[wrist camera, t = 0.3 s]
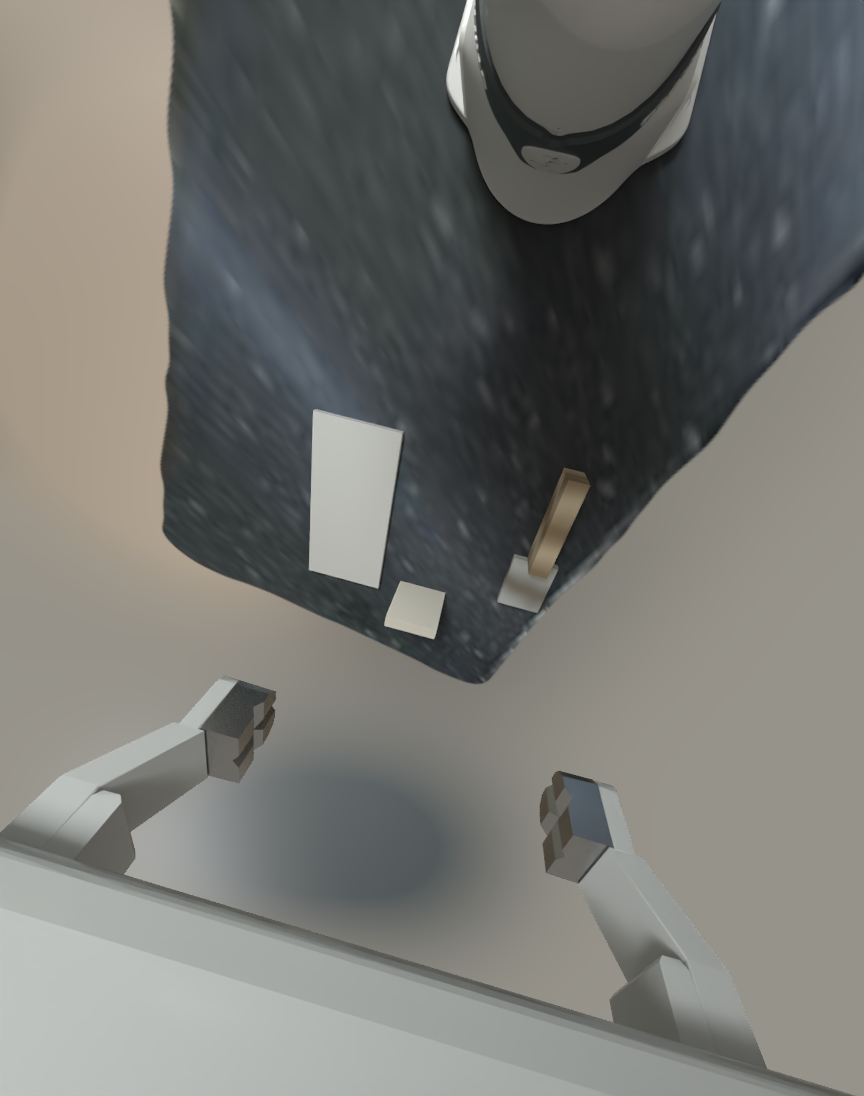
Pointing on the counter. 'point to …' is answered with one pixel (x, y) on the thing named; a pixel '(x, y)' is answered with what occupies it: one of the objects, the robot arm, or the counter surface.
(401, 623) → the tile
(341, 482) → the board
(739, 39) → the counter surface
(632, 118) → the robot arm
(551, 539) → the wooden handled scraper
